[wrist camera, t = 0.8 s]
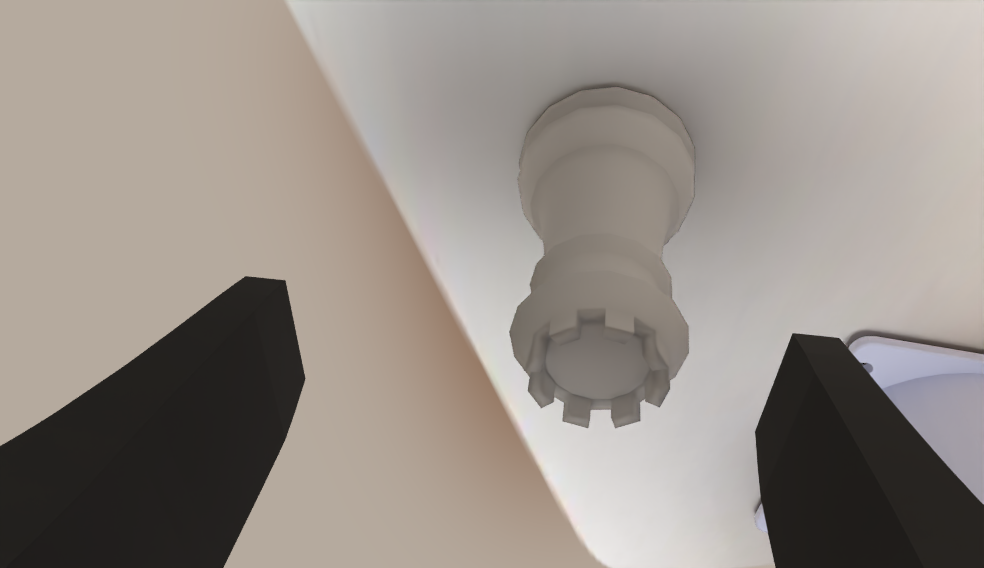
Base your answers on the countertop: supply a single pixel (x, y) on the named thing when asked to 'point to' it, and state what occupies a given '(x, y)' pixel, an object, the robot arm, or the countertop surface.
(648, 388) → the rook chess piece
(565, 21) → the countertop surface
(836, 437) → the robot arm
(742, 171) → the countertop surface
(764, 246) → the countertop surface
